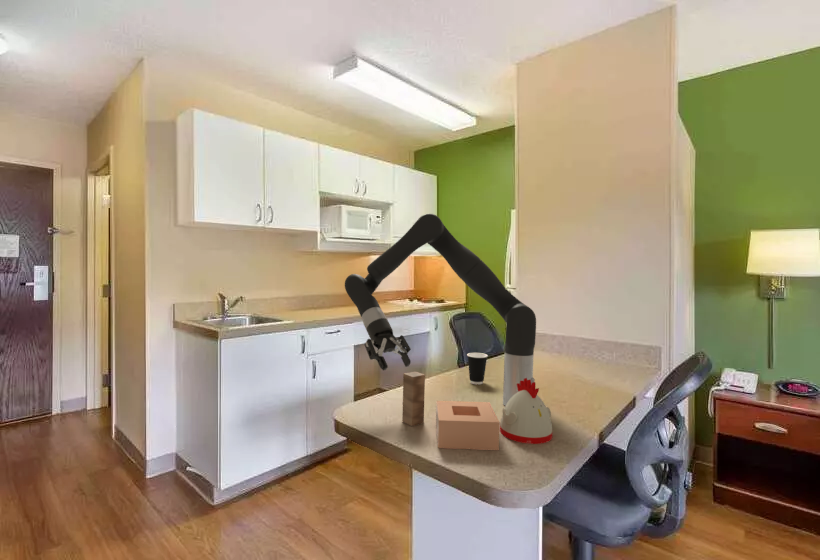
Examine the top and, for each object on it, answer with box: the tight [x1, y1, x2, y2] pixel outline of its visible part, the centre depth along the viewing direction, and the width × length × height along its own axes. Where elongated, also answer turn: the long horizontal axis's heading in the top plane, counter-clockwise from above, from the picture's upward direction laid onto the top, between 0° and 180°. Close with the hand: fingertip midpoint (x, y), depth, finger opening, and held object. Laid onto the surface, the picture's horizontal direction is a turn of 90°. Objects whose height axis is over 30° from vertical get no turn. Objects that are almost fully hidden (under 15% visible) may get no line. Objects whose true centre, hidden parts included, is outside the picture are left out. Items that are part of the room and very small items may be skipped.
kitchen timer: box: [499, 378, 553, 445], centre depth 114 cm, size 14×14×15 cm
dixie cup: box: [466, 352, 489, 385], centre depth 162 cm, size 8×8×11 cm
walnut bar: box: [401, 371, 426, 427], centre depth 120 cm, size 4×4×14 cm
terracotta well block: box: [435, 400, 501, 451], centre depth 111 cm, size 15×15×7 cm
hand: (397, 367), depth 126 cm, fingers open, 8 cm apart
